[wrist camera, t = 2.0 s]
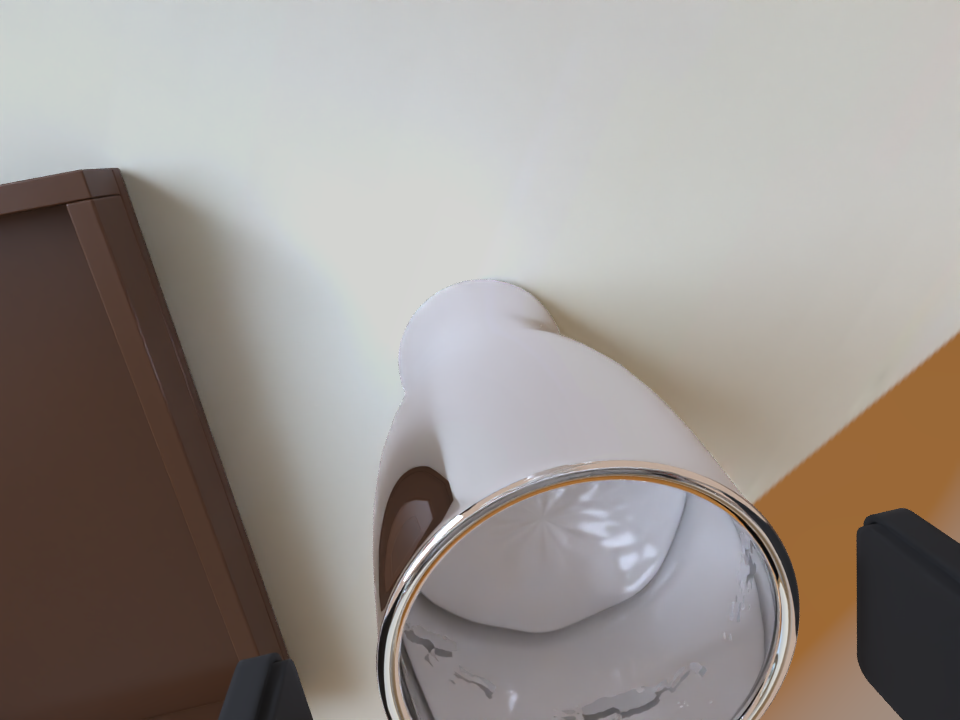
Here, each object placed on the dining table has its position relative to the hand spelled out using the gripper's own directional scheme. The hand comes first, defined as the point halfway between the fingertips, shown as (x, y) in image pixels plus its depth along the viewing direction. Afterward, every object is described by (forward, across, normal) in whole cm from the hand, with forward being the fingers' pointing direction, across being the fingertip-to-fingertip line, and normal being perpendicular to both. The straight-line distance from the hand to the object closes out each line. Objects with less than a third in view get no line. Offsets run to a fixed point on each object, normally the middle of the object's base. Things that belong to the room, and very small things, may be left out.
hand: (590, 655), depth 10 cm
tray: (+14, +18, +1) cm, 23 cm away
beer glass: (+15, 0, -1) cm, 15 cm away
